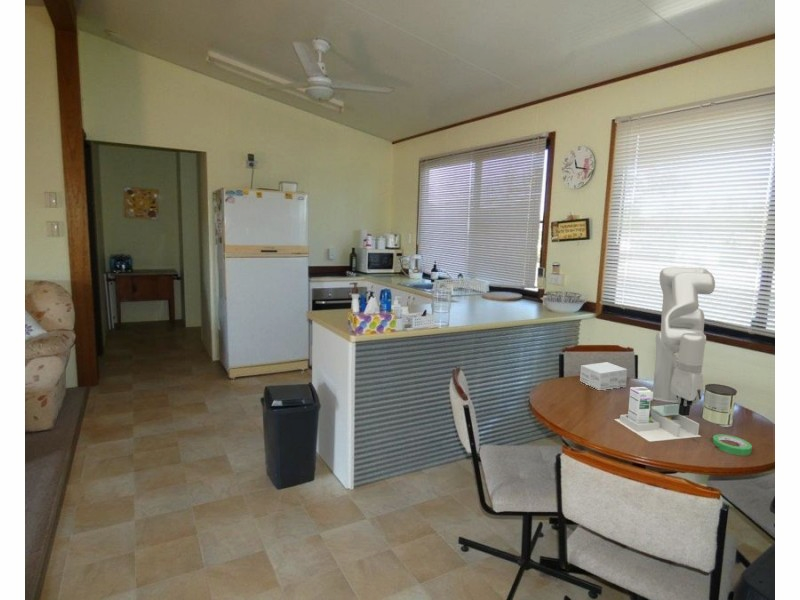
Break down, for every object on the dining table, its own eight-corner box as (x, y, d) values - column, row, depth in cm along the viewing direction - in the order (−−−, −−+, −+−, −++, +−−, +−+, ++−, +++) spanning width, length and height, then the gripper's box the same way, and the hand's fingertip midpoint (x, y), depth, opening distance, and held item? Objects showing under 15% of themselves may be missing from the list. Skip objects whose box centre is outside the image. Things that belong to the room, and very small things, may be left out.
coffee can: (697, 414, 185) (701, 382, 182) (727, 418, 181) (731, 385, 179) (705, 425, 175) (709, 390, 173) (736, 429, 172) (741, 394, 170)
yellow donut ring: (663, 419, 177) (664, 410, 177) (673, 425, 172) (674, 415, 172) (653, 420, 176) (653, 411, 176) (662, 426, 171) (663, 416, 171)
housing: (661, 417, 182) (662, 404, 181) (701, 438, 163) (702, 424, 162) (613, 421, 177) (615, 408, 176) (649, 444, 159) (650, 429, 158)
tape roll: (752, 447, 158) (753, 440, 157) (749, 459, 149) (750, 452, 149) (714, 438, 165) (715, 431, 164) (709, 448, 157) (710, 441, 156)
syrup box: (636, 428, 169) (640, 391, 167) (626, 421, 175) (630, 386, 173) (650, 427, 170) (654, 391, 168) (640, 421, 176) (643, 385, 173)
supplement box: (605, 379, 228) (606, 361, 227) (626, 387, 216) (628, 369, 215) (579, 382, 223) (580, 364, 221) (599, 391, 210) (600, 372, 209)
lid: (667, 406, 178) (668, 397, 177) (681, 414, 171) (682, 404, 170) (648, 408, 176) (649, 399, 175) (662, 416, 169) (663, 406, 168)
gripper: (664, 361, 168) (659, 407, 171) (698, 374, 154) (691, 424, 157) (681, 360, 170) (676, 405, 173) (716, 373, 155) (709, 422, 158)
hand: (683, 414), depth 165 cm, fingers closed
